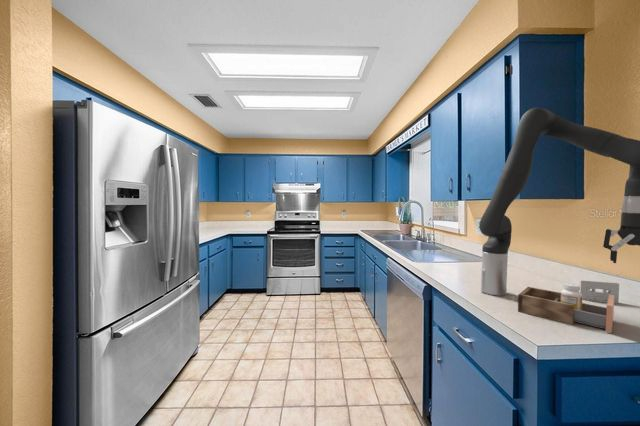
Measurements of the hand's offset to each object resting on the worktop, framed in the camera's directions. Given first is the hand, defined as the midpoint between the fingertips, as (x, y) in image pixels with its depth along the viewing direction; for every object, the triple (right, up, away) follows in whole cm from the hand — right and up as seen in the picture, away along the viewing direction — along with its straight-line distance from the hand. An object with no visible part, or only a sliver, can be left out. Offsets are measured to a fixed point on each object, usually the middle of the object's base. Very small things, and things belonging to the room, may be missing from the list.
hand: (634, 265), depth 87 cm
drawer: (-9, -19, +8) cm, 23 cm away
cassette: (+14, -19, +26) cm, 35 cm away
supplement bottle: (-11, -18, +10) cm, 23 cm away
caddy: (-15, -19, +14) cm, 28 cm away
